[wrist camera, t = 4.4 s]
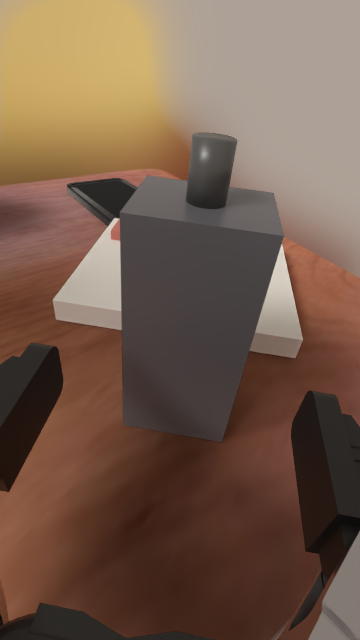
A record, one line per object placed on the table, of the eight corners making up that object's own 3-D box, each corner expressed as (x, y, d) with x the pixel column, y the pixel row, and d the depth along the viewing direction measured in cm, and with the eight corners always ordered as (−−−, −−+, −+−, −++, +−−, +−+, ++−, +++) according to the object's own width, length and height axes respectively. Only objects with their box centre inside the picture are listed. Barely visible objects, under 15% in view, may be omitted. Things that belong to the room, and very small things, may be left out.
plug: (123, 425, 17) (118, 140, 9) (141, 368, 20) (149, 117, 12) (221, 442, 17) (305, 164, 9) (224, 381, 20) (288, 135, 12)
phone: (125, 233, 33) (63, 183, 42) (125, 244, 33) (64, 192, 42) (191, 220, 37) (121, 177, 46) (189, 230, 37) (121, 185, 46)
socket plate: (55, 319, 23) (50, 289, 22) (114, 233, 34) (114, 209, 33) (295, 358, 22) (307, 330, 21) (277, 257, 33) (284, 234, 32)
